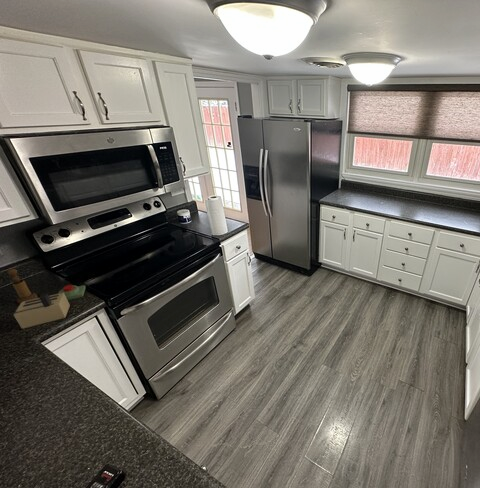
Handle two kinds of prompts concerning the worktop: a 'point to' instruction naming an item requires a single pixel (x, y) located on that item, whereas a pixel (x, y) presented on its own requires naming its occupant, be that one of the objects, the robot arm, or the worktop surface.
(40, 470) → the worktop surface
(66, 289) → the button
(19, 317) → the toaster
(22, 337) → the worktop surface
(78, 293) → the panel
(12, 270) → the wooden pepper mill
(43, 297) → the slider
